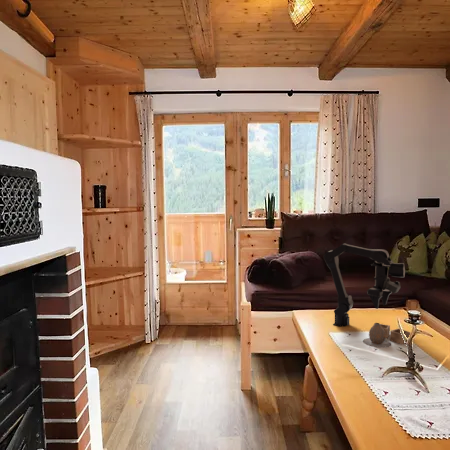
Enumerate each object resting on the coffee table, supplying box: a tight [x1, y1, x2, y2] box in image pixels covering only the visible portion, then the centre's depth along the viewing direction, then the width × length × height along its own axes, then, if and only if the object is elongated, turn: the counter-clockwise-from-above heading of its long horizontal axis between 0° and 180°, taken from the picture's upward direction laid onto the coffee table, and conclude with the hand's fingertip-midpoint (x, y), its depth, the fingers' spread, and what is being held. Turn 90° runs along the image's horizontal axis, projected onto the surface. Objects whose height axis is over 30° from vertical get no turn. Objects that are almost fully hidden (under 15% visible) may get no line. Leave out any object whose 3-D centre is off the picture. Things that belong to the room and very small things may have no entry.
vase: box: [368, 322, 386, 344], centre depth 173 cm, size 7×7×9 cm
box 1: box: [380, 323, 391, 339], centre depth 182 cm, size 6×6×5 cm
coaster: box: [362, 337, 392, 349], centre depth 173 cm, size 12×12×1 cm
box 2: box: [389, 328, 411, 345], centre depth 174 cm, size 6×6×5 cm
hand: (380, 306), depth 189 cm, fingers open, 9 cm apart
